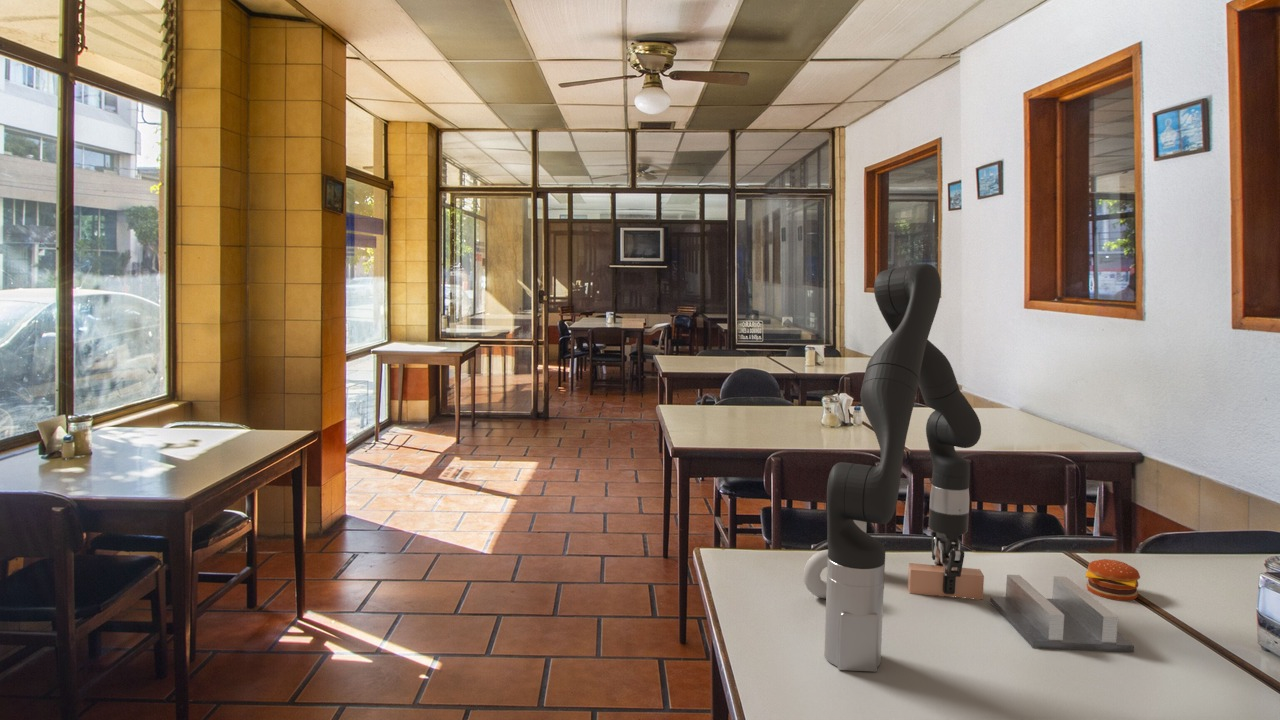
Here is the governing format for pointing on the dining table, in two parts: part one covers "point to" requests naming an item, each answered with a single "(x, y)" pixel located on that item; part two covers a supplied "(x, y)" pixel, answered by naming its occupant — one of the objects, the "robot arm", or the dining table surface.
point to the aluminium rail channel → (1060, 617)
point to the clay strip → (931, 581)
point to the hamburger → (1112, 580)
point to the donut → (816, 573)
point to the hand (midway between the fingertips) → (944, 588)
